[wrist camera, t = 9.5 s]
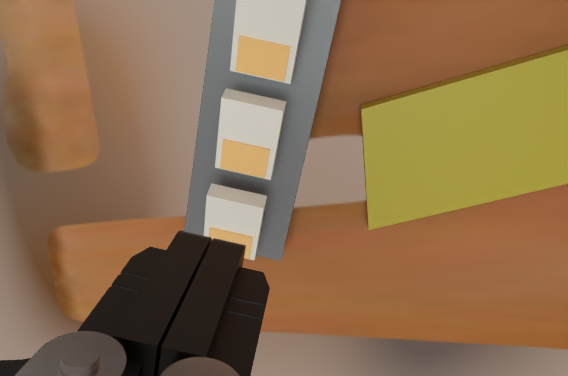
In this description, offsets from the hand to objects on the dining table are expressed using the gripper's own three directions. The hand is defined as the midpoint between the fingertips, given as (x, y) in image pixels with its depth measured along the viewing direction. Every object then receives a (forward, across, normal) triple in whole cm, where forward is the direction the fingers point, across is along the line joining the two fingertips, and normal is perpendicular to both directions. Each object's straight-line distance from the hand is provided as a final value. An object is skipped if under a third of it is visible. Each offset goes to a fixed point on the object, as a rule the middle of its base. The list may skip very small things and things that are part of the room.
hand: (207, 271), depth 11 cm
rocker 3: (+30, +3, +16) cm, 34 cm away
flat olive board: (+38, -17, +4) cm, 42 cm away
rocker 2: (+30, +3, +7) cm, 31 cm away
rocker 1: (+30, +3, -2) cm, 30 cm away
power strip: (+37, +3, +3) cm, 37 cm away
